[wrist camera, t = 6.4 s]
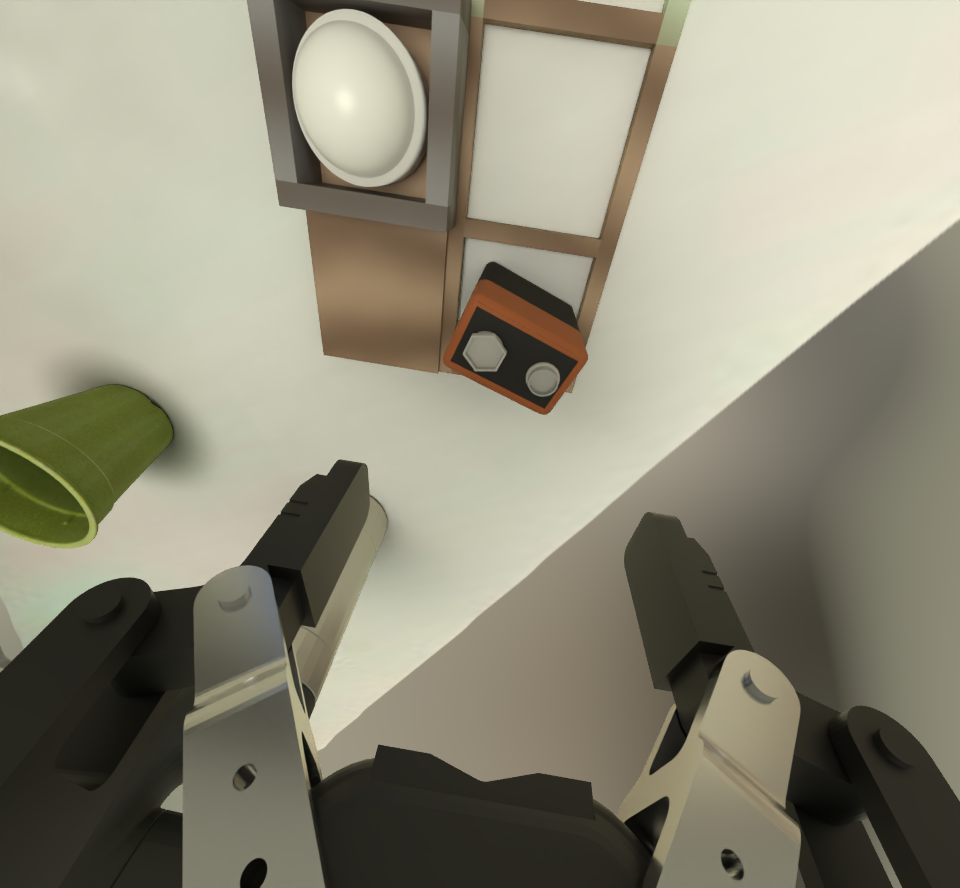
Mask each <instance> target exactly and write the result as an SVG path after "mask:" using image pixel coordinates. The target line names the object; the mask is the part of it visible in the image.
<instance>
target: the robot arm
mask: <svg viewBox="0 0 960 888" xmlns="http://www.w3.org/2000/svg"><path fill="white" fill-rule="evenodd" d="M386 528H387V518H386V514H385V512H384V511H383V509H382V507H381V506H380V505H379V504H378V503H377V502H376V501H375V500H374V499H373V498H372V497H370V496H369V481H368V468H367V465H366V464H364V463H358V462H352V461H346V460H338V461H337V462H336V463H335V464H334V466H333V467H332V469H331V470H330V472H329V473H328V475H327V476H324V475H319V474H316V475H315V476H313V477H312V478H310V479H309V480H308V481H306V482H305V483H303V484H302V485H300V487H299V488H298V489H297V491H296V492H295V493H294V495H293V496H292V497H291V499H290V502H289V503H287V504H286V505H285V507H284V508H283V509H282V511H281V514H280V515H278V516H277V518H276V519H275V520H274V522H273V523H272V524H271V526H270V527H269V528H268V530H267V531H266V532H265V534H264V535H263V536H262V538H261V539H260V540H259V542H258V543H257V545H256V546H255V547H254V549H253V550H252V551H251V553H250V554H249V555H248V557H247V558H246V559H245V561H244V562H243V563H242V564H241V565H240V566H238V567H234V568H230V569H228V570H225V571H223V572H221V573H219V574H218V575H216V576H215V577H213V578H212V579H211V580H209V581H208V582H207V583H206V584H205V585H203V586H197V587H190V588H182V589H174V590H166V591H158V592H153V591H152V590H151V588H150V587H149V585H148V584H147V583H146V582H145V581H143V580H141V579H137V578H119V579H114V580H110V581H107V582H104V583H102V584H99V585H97V586H95V587H93V588H91V589H89V590H87V591H86V592H84V593H83V594H81V595H80V596H78V597H77V598H76V599H74V600H73V601H72V602H71V603H70V604H69V605H68V606H67V607H66V608H65V609H64V610H63V611H62V612H61V613H60V614H59V615H58V616H57V617H56V618H55V619H54V620H53V621H52V622H51V623H50V624H49V625H48V626H47V627H46V628H45V629H44V630H43V631H42V632H41V633H40V634H39V635H38V636H37V637H36V638H35V639H34V640H33V641H32V642H31V643H30V644H29V645H28V646H27V647H26V648H25V649H24V650H23V651H22V652H21V653H20V654H19V655H18V656H17V657H16V658H15V659H14V660H13V661H12V662H11V663H10V664H9V665H8V666H7V667H6V668H5V669H4V670H3V671H2V672H1V673H0V888H795V884H796V877H797V869H798V867H799V869H800V872H801V875H802V878H803V881H804V884H805V887H806V888H893V887H892V885H891V883H890V881H889V879H888V876H887V874H886V872H885V870H884V868H883V866H882V864H881V862H880V859H879V857H878V855H877V853H876V851H875V849H874V847H873V845H872V843H871V841H870V838H869V836H868V834H867V832H866V830H865V828H864V826H863V824H862V821H861V820H863V819H866V818H869V820H870V822H871V824H872V826H873V828H874V830H875V832H876V835H877V837H878V839H879V840H880V842H881V845H882V847H883V849H884V851H885V853H886V855H887V857H888V859H889V861H890V863H891V865H892V867H893V869H894V871H895V874H896V876H897V877H898V879H899V882H900V884H901V886H902V888H960V801H959V800H958V798H957V797H956V795H955V794H954V792H953V790H952V789H951V788H950V786H949V784H948V783H947V781H946V780H945V778H944V777H943V775H942V773H941V772H940V770H939V769H938V767H937V766H936V764H935V763H934V761H933V760H932V758H931V757H930V755H929V754H928V753H927V751H926V750H925V748H924V747H923V746H922V745H921V744H920V742H919V741H918V740H917V739H916V738H915V737H914V736H913V735H912V734H911V733H910V732H909V731H908V730H906V729H905V728H904V727H903V726H902V725H900V724H899V723H898V722H897V721H895V720H894V719H892V718H891V717H889V716H888V715H886V714H884V713H882V712H880V711H878V710H876V709H873V708H870V707H867V706H855V707H853V708H851V709H849V710H847V711H845V712H844V713H840V712H838V711H836V710H833V709H831V708H829V707H827V706H825V705H823V704H821V703H819V702H816V701H814V700H812V699H810V698H808V697H806V696H804V695H802V694H800V693H798V692H796V691H795V690H794V688H793V687H792V685H791V683H790V682H789V681H788V679H787V678H786V677H785V676H784V674H783V673H781V671H780V670H779V669H778V668H777V667H776V666H774V665H773V664H772V663H770V662H769V661H768V660H766V659H765V658H763V657H762V656H760V655H757V654H756V653H755V652H754V650H753V648H752V646H751V644H750V641H749V639H748V637H747V635H746V633H745V631H744V629H743V627H742V625H741V623H740V620H739V618H738V616H737V614H736V612H735V610H734V608H733V605H732V603H731V601H730V599H729V597H728V595H727V593H726V592H724V586H723V584H722V582H721V580H720V578H719V577H718V576H717V572H716V569H715V567H714V565H713V563H712V561H711V559H710V557H709V555H708V554H707V553H706V552H705V550H704V549H703V548H702V547H701V546H700V545H699V544H698V543H697V541H696V540H695V539H693V538H687V536H686V534H685V531H684V529H683V527H682V525H681V522H680V520H679V519H678V518H677V517H675V516H669V515H663V514H657V513H651V512H647V513H646V514H645V515H644V516H643V518H642V519H641V521H640V523H639V525H638V527H637V529H636V530H635V532H634V534H633V536H632V538H631V540H630V541H629V543H628V545H627V547H626V550H625V556H624V564H625V570H626V574H627V579H628V583H629V587H630V590H631V595H632V599H633V603H634V607H635V611H636V616H637V620H638V624H639V628H640V632H641V636H642V640H643V644H644V648H645V652H646V657H647V661H648V665H649V669H650V673H651V677H652V681H653V685H654V688H655V689H660V690H666V691H672V693H673V696H674V700H675V704H674V705H673V706H672V707H671V709H670V711H669V713H668V715H667V718H666V720H665V722H664V725H663V727H662V729H661V731H660V733H659V736H658V738H657V740H656V742H655V745H654V747H653V749H652V751H651V754H650V756H649V758H648V760H647V763H646V765H645V767H644V769H643V772H642V774H641V776H640V778H639V779H638V781H637V783H636V784H635V786H634V787H633V788H632V790H631V791H630V792H629V794H628V795H627V797H626V798H625V800H624V802H623V804H622V805H621V808H620V809H619V811H618V813H617V816H615V815H614V814H613V813H612V812H611V811H610V810H609V809H607V808H606V807H604V806H603V805H602V804H600V803H599V802H597V801H596V800H594V799H593V796H592V787H591V782H586V781H581V780H574V779H569V778H563V777H558V776H552V775H547V774H541V773H536V774H530V775H524V776H518V777H513V778H507V779H501V780H495V781H489V782H483V781H480V780H477V779H475V778H473V777H472V776H470V775H468V774H466V773H464V772H463V771H461V770H459V769H457V768H455V767H453V766H451V765H450V764H448V763H446V762H444V761H442V760H441V759H439V758H437V757H435V756H433V755H431V754H428V753H422V752H417V751H411V750H406V749H400V748H394V747H389V746H383V745H378V748H377V752H376V755H375V758H372V759H366V760H363V761H359V762H357V763H353V764H350V765H348V766H346V767H344V768H342V769H340V770H338V771H336V772H335V773H333V774H332V775H330V776H328V777H327V778H325V779H324V780H323V778H322V773H321V768H320V763H319V759H318V754H317V750H316V745H315V741H314V737H313V734H312V730H311V726H310V722H309V719H310V716H311V714H312V711H313V709H314V706H315V703H316V701H317V699H318V696H319V694H320V691H321V689H322V686H323V684H324V682H325V679H326V677H327V674H328V672H329V669H330V667H331V664H332V662H333V659H334V656H335V654H336V651H337V649H338V647H339V644H340V642H341V639H342V637H343V634H344V632H345V629H346V627H347V624H348V622H349V620H350V617H351V615H352V612H353V610H354V607H355V605H356V602H357V600H358V597H359V595H360V592H361V590H362V588H363V585H364V583H365V580H366V578H367V575H368V573H369V570H370V568H371V565H372V563H373V560H374V558H375V556H376V554H377V551H378V549H379V546H380V544H381V541H382V539H383V536H384V534H385V531H386ZM182 783H183V813H179V812H174V811H170V810H165V809H162V808H161V807H160V806H161V804H162V803H163V802H164V800H165V799H166V798H167V797H168V796H169V795H170V793H171V792H172V791H173V790H174V789H175V788H177V787H178V786H179V785H181V784H182Z"/></svg>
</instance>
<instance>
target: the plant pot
mask: <svg viewBox="0 0 960 888" xmlns="http://www.w3.org/2000/svg"><path fill="white" fill-rule="evenodd" d="M172 438H173V430H172V426H171V423H170V421H169V419H168V418H167V416H166V415H165V413H164V412H163V411H162V410H161V409H160V408H158V407H156V406H155V405H153V404H152V403H151V402H150V401H149V400H148V399H147V398H146V396H145V395H143V394H142V393H140V392H138V391H136V390H133V389H131V388H128V387H125V386H121V385H105V386H101V387H97V388H94V389H91V390H87V391H84V392H80V393H77V394H74V395H70V396H67V397H63V398H60V399H56V400H53V401H49V402H46V403H42V404H39V405H36V406H32V407H29V408H25V409H22V410H18V411H15V412H11V413H8V414H4V415H1V416H0V530H1V531H3V532H5V533H7V534H10V535H12V536H15V537H17V538H20V539H23V540H26V541H28V542H32V543H35V544H40V545H43V546H49V547H53V548H77V547H81V546H84V545H86V544H88V543H90V542H91V541H92V540H93V539H94V538H95V536H96V535H97V532H98V524H99V523H100V522H101V521H102V520H103V519H104V517H105V516H106V515H107V514H108V513H109V512H110V511H111V509H112V507H113V505H114V503H115V502H116V501H117V500H118V498H119V497H120V496H121V495H122V494H123V493H124V492H125V491H126V490H127V489H128V488H129V487H130V486H131V484H132V483H133V482H134V481H135V480H136V479H137V478H138V477H139V476H140V475H141V474H142V473H143V472H144V471H145V469H146V468H147V467H148V466H149V465H150V464H151V463H152V462H153V461H154V460H155V459H156V458H157V457H158V456H159V455H160V453H161V452H162V451H163V450H164V449H165V448H166V447H167V446H168V445H169V443H170V442H171V440H172Z"/></svg>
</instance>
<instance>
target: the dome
mask: <svg viewBox="0 0 960 888" xmlns="http://www.w3.org/2000/svg"><path fill="white" fill-rule="evenodd" d="M292 89H293V99H294V105H295V110H296V114H297V118H298V121H299V124H300V127H301V129H302V132H303V134H304V136H305V138H306V140H307V142H308V144H309V145H310V147H311V149H312V150H313V152H314V153H315V155H316V156H317V157H318V159H319V160H320V161H321V162H322V163H323V164H324V166H326V167H327V168H328V169H329V170H330V171H331V172H332V173H334V174H335V175H336V176H338V177H339V178H341V179H343V180H344V181H346V182H349V183H351V184H354V185H358V186H363V187H378V186H389V185H393V184H396V183H398V182H400V181H402V180H404V179H405V178H407V177H408V176H409V175H410V174H411V173H413V171H414V170H415V169H416V168H417V167H418V165H419V164H420V162H421V160H422V159H423V156H424V154H425V152H426V149H427V146H428V118H429V92H428V88H427V85H426V81H425V78H424V76H423V74H422V71H421V69H420V67H419V65H418V63H417V62H416V60H415V58H414V57H413V55H412V54H411V52H410V51H409V50H408V49H407V47H406V46H405V45H404V44H403V43H402V42H401V41H400V40H399V39H398V38H397V37H396V36H395V34H394V33H393V32H392V31H391V30H390V29H389V28H388V27H386V26H385V25H384V24H383V23H382V22H381V21H379V20H377V19H376V18H374V17H373V16H371V15H369V14H367V13H364V12H362V11H358V10H354V9H339V10H334V11H331V12H329V13H326V14H324V15H323V16H321V17H320V18H318V19H317V20H316V21H315V22H314V23H313V24H312V25H311V26H310V27H309V28H308V30H307V31H306V32H305V34H304V36H303V38H302V39H301V41H300V44H299V46H298V49H297V52H296V56H295V60H294V65H293V73H292Z"/></svg>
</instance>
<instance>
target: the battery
mask: <svg viewBox="0 0 960 888" xmlns="http://www.w3.org/2000/svg"><path fill="white" fill-rule="evenodd" d="M587 360H588V355H587V352H586V349H585V346H584V343H583V340H582V336H581V333H580V330H579V327H578V324H577V321H576V318H575V315H574V312H573V309H572V307H571V306H570V305H568V304H567V303H565V302H563V301H562V300H560V299H558V298H556V297H555V296H553V295H551V294H549V293H548V292H546V291H544V290H543V289H541V288H539V287H537V286H536V285H534V284H532V283H530V282H529V281H527V280H525V279H523V278H522V277H520V276H518V275H516V274H515V273H513V272H511V271H509V270H508V269H506V268H504V267H503V266H501V265H499V264H497V263H495V262H490V263H488V264H487V265H486V267H485V269H484V271H483V273H482V275H481V277H480V279H479V281H478V283H477V285H476V287H475V289H474V291H473V293H472V295H471V297H470V299H469V302H468V304H467V306H466V308H465V310H464V312H463V314H462V316H461V319H460V321H459V323H458V325H457V327H456V329H455V331H454V334H453V336H452V338H451V340H450V342H449V344H448V346H447V348H446V351H445V353H444V355H443V363H444V364H445V366H447V367H448V368H450V369H452V370H454V371H456V372H457V373H459V374H461V375H463V376H465V377H467V378H469V379H471V380H473V381H475V382H477V383H479V384H481V385H483V386H485V387H487V388H489V389H491V390H493V391H495V392H497V393H499V394H501V395H503V396H505V397H507V398H509V399H511V400H513V401H515V402H517V403H519V404H521V405H523V406H525V407H527V408H529V409H531V410H533V411H535V412H537V413H539V414H543V415H545V414H548V413H549V412H550V411H551V410H552V409H553V407H554V406H555V405H556V403H557V402H558V400H559V399H560V398H561V396H562V395H563V394H564V392H565V391H566V390H567V388H568V387H569V385H570V384H571V383H572V381H573V380H574V379H575V377H576V376H577V374H578V373H579V372H580V370H581V369H582V368H583V366H584V365H585V363H586V362H587Z"/></svg>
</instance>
